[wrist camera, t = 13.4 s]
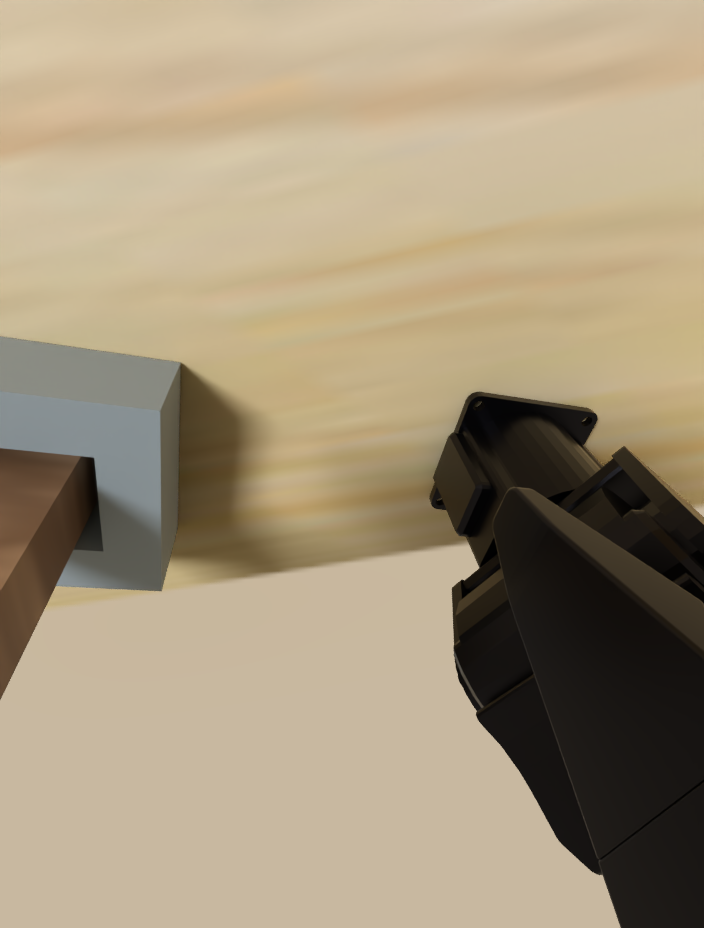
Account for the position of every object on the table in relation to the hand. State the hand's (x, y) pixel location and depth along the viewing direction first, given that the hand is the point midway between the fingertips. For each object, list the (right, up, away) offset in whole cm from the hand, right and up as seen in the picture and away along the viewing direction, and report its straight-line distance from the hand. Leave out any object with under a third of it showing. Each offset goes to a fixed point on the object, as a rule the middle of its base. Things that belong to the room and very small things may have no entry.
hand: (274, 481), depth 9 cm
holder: (-11, +1, +12) cm, 16 cm away
